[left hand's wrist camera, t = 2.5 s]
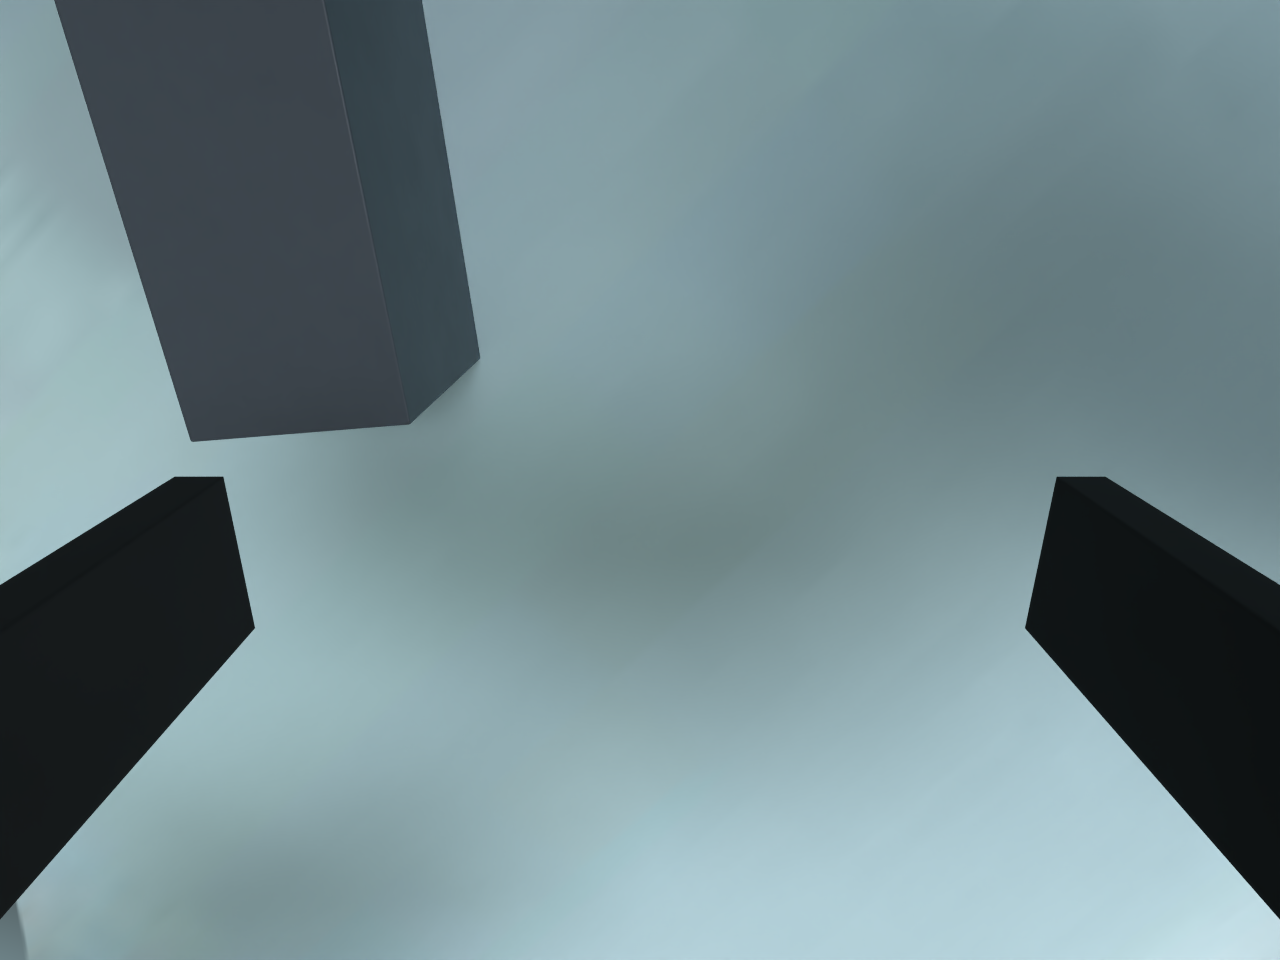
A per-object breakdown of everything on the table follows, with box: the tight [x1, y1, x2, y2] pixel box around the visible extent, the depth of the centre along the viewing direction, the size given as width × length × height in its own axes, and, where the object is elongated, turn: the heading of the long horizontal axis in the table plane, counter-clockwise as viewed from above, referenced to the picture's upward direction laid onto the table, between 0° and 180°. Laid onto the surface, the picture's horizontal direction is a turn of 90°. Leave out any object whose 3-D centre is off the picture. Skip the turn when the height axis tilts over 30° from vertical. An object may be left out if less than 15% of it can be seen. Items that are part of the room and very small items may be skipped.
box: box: [54, 0, 480, 442], centre depth 21 cm, size 22×6×9 cm, turn 5°
